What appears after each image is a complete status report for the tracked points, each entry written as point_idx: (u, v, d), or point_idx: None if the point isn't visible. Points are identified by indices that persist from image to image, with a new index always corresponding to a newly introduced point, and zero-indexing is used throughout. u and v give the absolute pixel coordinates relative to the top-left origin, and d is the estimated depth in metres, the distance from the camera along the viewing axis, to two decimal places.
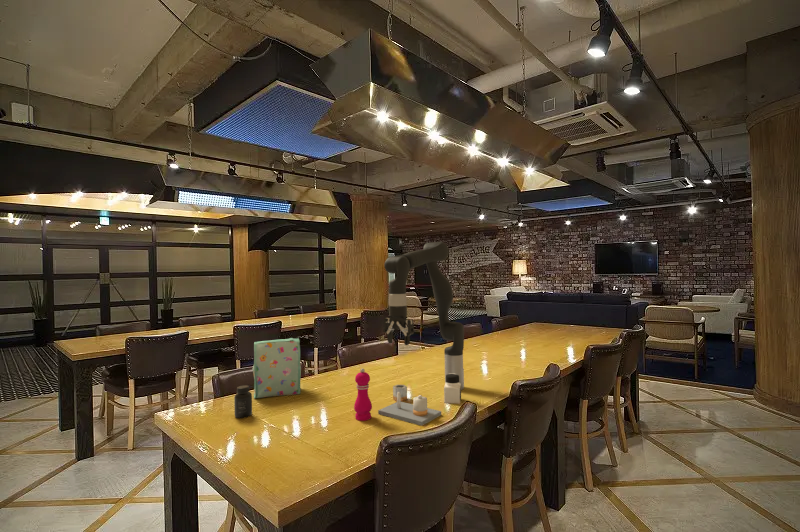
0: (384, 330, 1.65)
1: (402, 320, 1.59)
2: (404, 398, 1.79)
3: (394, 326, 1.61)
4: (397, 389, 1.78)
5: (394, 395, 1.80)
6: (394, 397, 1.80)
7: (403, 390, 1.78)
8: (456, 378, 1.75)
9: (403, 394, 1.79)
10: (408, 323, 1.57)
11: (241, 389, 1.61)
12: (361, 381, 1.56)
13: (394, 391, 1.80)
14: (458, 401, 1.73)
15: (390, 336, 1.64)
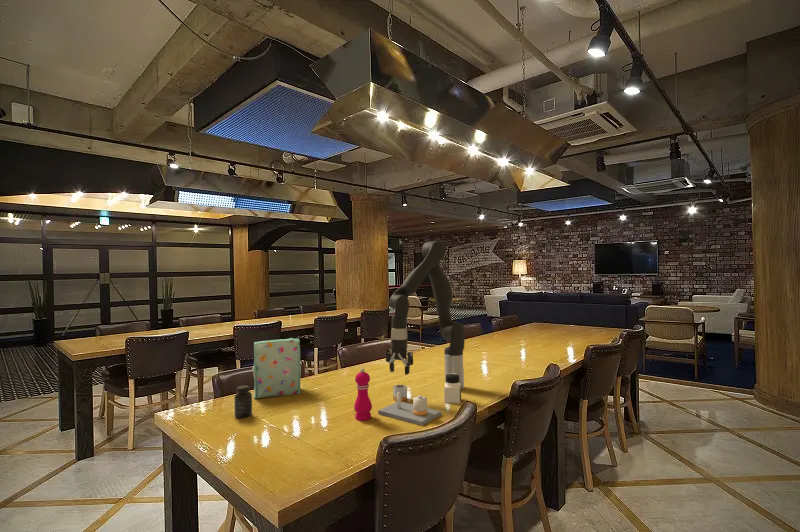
0: (386, 360, 1.84)
1: (403, 352, 1.78)
2: (404, 398, 1.79)
3: (396, 357, 1.81)
4: (397, 389, 1.78)
5: (394, 395, 1.80)
6: (394, 397, 1.80)
7: (403, 390, 1.78)
8: (456, 378, 1.75)
9: (403, 394, 1.79)
10: (408, 355, 1.76)
11: (241, 389, 1.61)
12: (361, 381, 1.56)
13: (394, 391, 1.80)
14: (458, 401, 1.73)
15: (392, 365, 1.83)
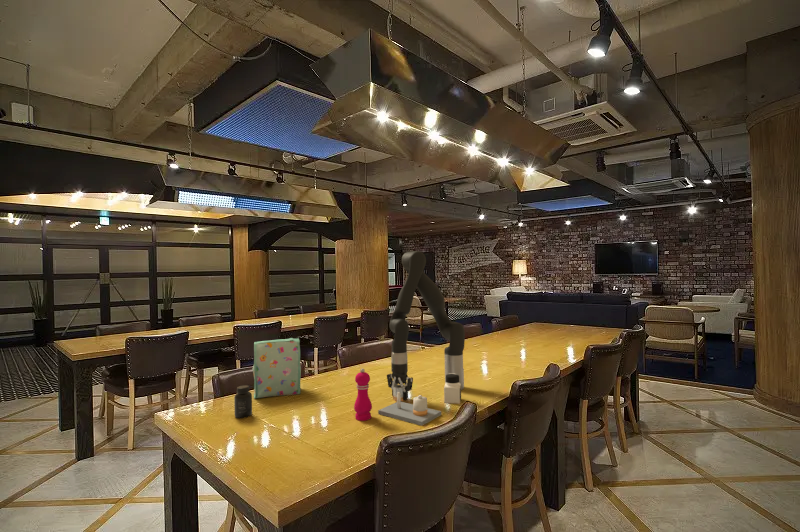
0: (389, 385, 1.83)
1: (403, 376, 1.78)
2: None
3: (397, 381, 1.81)
4: (397, 389, 1.78)
5: (394, 395, 1.80)
6: (394, 397, 1.80)
7: None
8: (456, 378, 1.75)
9: None
10: (408, 381, 1.76)
11: (241, 389, 1.61)
12: (361, 381, 1.56)
13: (394, 391, 1.80)
14: (458, 401, 1.73)
15: None
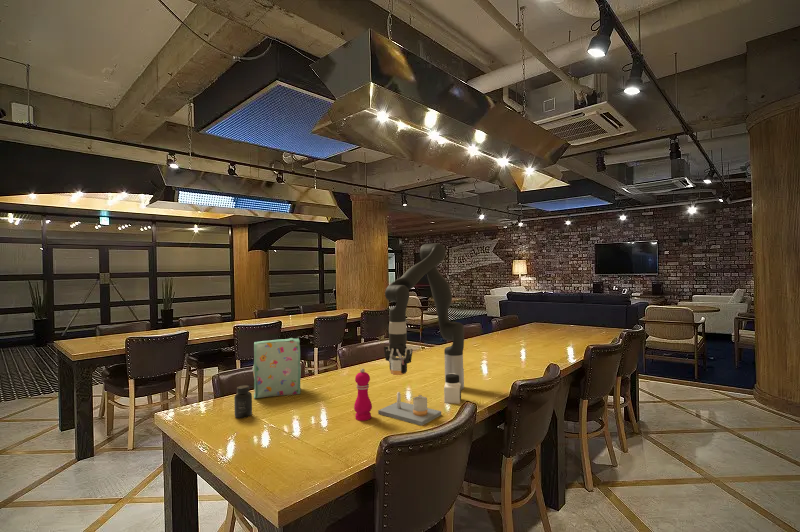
0: (386, 358, 1.68)
1: (402, 348, 1.63)
2: None
3: (395, 353, 1.65)
4: (395, 362, 1.62)
5: (392, 368, 1.64)
6: (392, 371, 1.64)
7: (401, 363, 1.63)
8: (456, 378, 1.75)
9: None
10: (407, 353, 1.61)
11: (241, 389, 1.61)
12: (361, 381, 1.56)
13: (392, 364, 1.64)
14: (458, 401, 1.73)
15: None
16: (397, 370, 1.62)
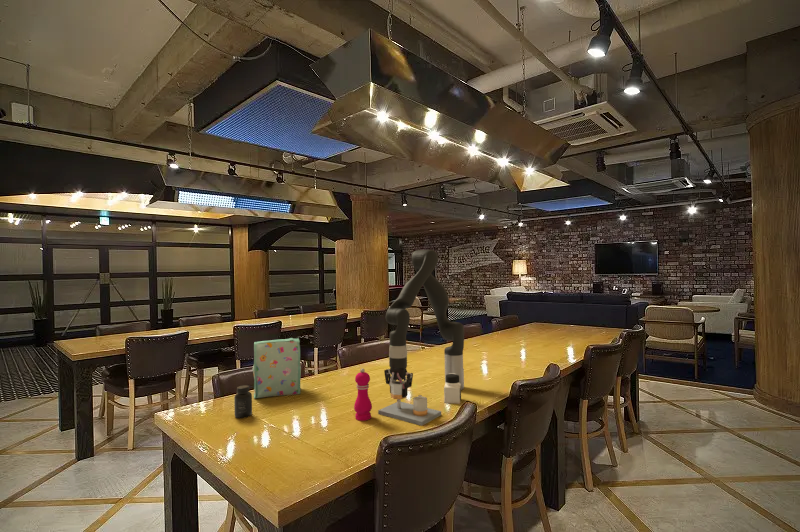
0: (387, 382, 1.67)
1: (402, 372, 1.62)
2: None
3: (395, 377, 1.65)
4: (395, 386, 1.62)
5: (392, 392, 1.64)
6: (392, 395, 1.64)
7: None
8: (456, 378, 1.75)
9: None
10: (408, 377, 1.60)
11: (241, 389, 1.61)
12: (361, 381, 1.56)
13: (392, 388, 1.64)
14: (458, 401, 1.73)
15: None
16: (397, 394, 1.62)
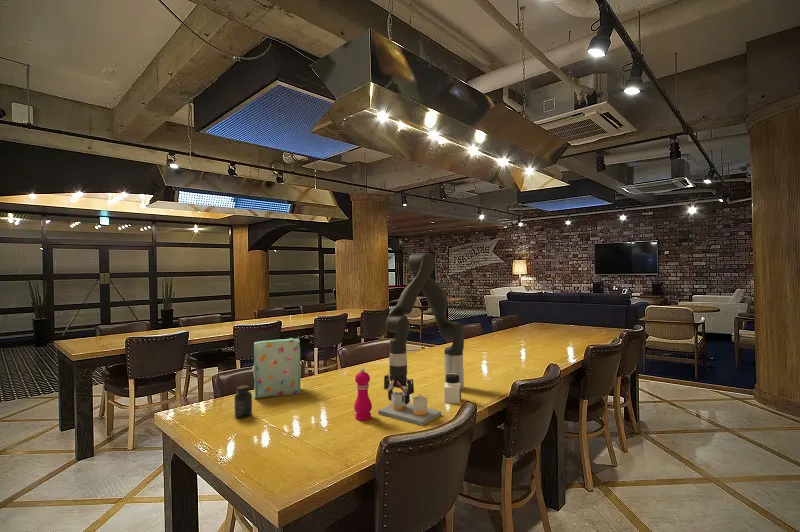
0: (385, 387, 1.68)
1: (402, 379, 1.62)
2: (403, 407, 1.63)
3: (394, 384, 1.65)
4: (396, 397, 1.62)
5: (392, 403, 1.64)
6: (392, 406, 1.64)
7: (402, 398, 1.62)
8: (456, 378, 1.75)
9: (403, 403, 1.62)
10: (408, 383, 1.60)
11: (241, 389, 1.61)
12: (361, 381, 1.56)
13: (392, 399, 1.64)
14: (458, 401, 1.73)
15: (391, 393, 1.67)
16: (398, 406, 1.62)
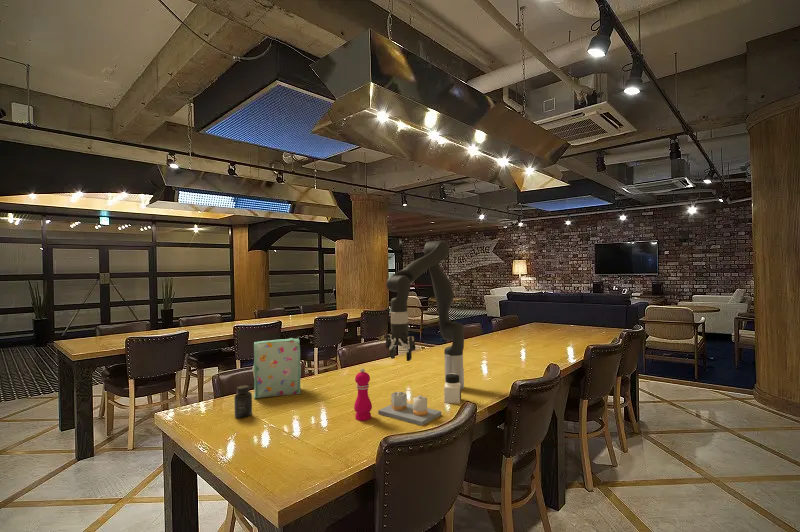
0: (387, 346, 1.71)
1: (404, 337, 1.66)
2: (403, 407, 1.63)
3: (396, 342, 1.68)
4: (396, 397, 1.62)
5: (392, 403, 1.64)
6: (392, 406, 1.64)
7: (402, 398, 1.62)
8: (456, 378, 1.75)
9: (403, 403, 1.62)
10: (410, 340, 1.64)
11: (241, 389, 1.61)
12: (361, 381, 1.56)
13: (392, 399, 1.64)
14: (458, 401, 1.73)
15: (392, 352, 1.70)
16: (398, 406, 1.62)
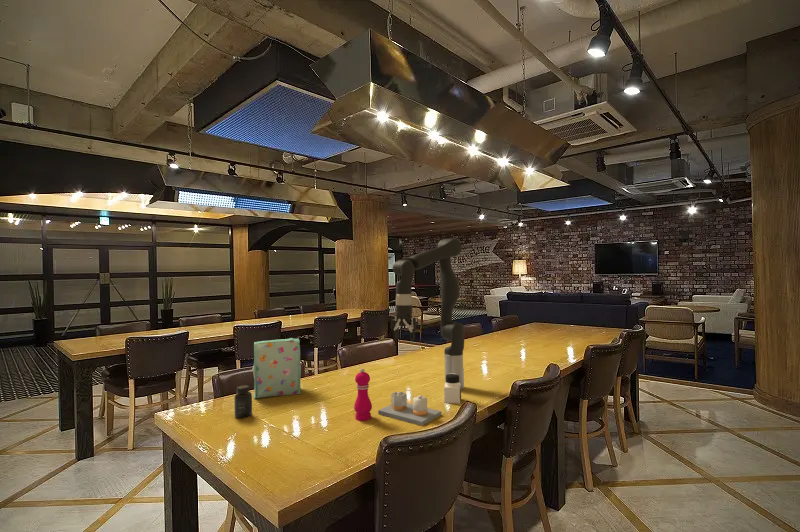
0: (391, 327, 1.81)
1: (408, 318, 1.76)
2: (403, 407, 1.63)
3: (401, 323, 1.78)
4: (396, 397, 1.62)
5: (392, 403, 1.64)
6: (392, 406, 1.64)
7: (402, 398, 1.62)
8: (456, 378, 1.75)
9: (403, 403, 1.62)
10: (413, 320, 1.74)
11: (241, 389, 1.61)
12: (361, 381, 1.56)
13: (392, 399, 1.64)
14: (458, 401, 1.73)
15: (397, 332, 1.80)
16: (398, 406, 1.62)
